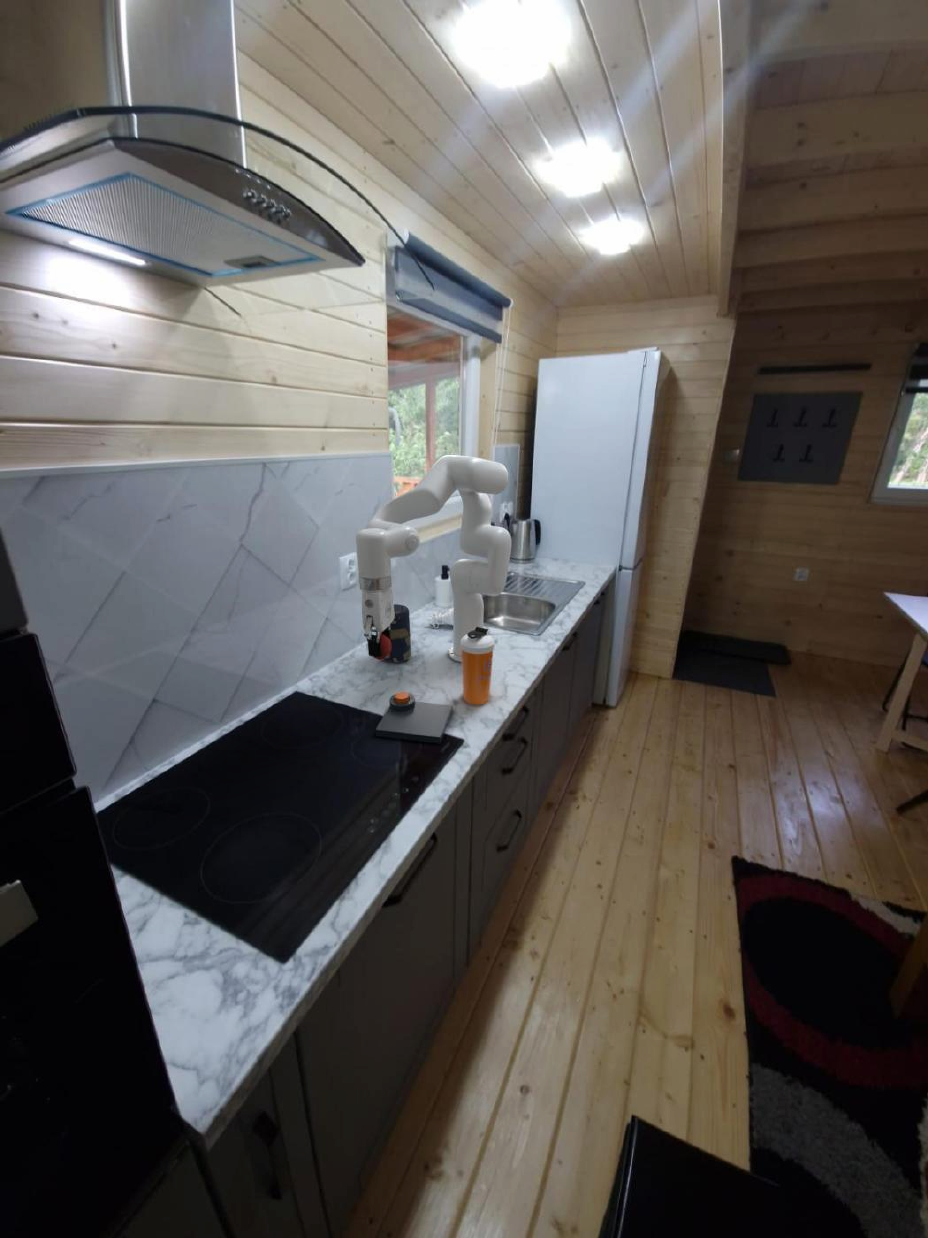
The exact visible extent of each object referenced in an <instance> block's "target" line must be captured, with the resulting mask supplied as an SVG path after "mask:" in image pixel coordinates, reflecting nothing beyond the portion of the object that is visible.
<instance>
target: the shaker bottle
mask: <svg viewBox="0 0 928 1238" xmlns="http://www.w3.org/2000/svg"><path fill="white" fill-rule="evenodd" d="M461 649H462V662H461V665H462V666H461V667H462V669H461V670H462V695H463V701H465V702H466V703H468V704H470V705H475V706H476V705H484V704H486V703H488V702H489V700H490V693H491V682H492V671H493V670H492V669H493V659H494V658H493V657H494V650H495V639H494V638H493V637H492V635H491V630H490V629H489V628H485V627H483V628H480V627H475V629H474V630H473V631H471V632H469V633H468V634H466V635H465V636H463V638H462V639H461Z"/></svg>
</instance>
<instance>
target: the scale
mask: <svg viewBox="0 0 928 1238" xmlns="http://www.w3.org/2000/svg"><path fill="white" fill-rule="evenodd" d="M407 693H408V694H409V701H408V702H407V703H402V704H401V703H396V702H395V694H393V695H390V697H389V699H388V704H389V706H388V708H387V710H386V711H385V713H384V715H383V716H382V718H381V720H380V721H379V723H378V725H377V726H376V727H375V737H381V738H389V739H398V740H406V741H414V742H422V743H423V742H424V743H429V744H437V745H438V744H439V745H440V744H441V743H442V741H443V738H444V736H445V732H446V730H447V728H448V725H449V722H450V720H451V717H452V714H453V705H449V704H441V703H432V702H431V703H430V702H421V701H416V698H415V696H414V695H413V694H411V693H409V692H407Z"/></svg>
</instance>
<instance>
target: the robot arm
mask: <svg viewBox="0 0 928 1238" xmlns="http://www.w3.org/2000/svg"><path fill="white" fill-rule="evenodd" d="M508 483H509V472H508V470H507V468H506V466H505V465H504V464H502V463H501V462H498V461H494V460H488V459H484V458H482V457H481V458H480V457H476V456H467V455H451V454H449V455H443V456H441V457H440V458H438V459H437V460H436V461H435V463H434V464H433V465H432V466H431V467H430V469H429V470H428V471H427V472H426V473H425V474H424V476H423V477H422V478H421V480H419V482H418V483H417V484H416V485H415V486H414V487H413V488H412V489H411V490H408V491H406V492H404V493H402V494H401V495H398V496H396V497H395V498H393V499H391V500H390V501H388V502H386V503H385V504H383V505H382V506H381V507H380V508H379V509H378V510H377V511H376V512H375V513H374V515H373V516H372V517H371V518H370V520H369V521H368V523H367V524H366V526H365V528H364V529H360V530H359V531H357V533H356V535H355V542H356V543H355V544H356V556H357V558H356V559H357V569H358V582H359V589H360V591H361V617H362V620H361V621H362V627H363V630H364V632H363V636H364V637H365V639H366V642H367V650H368V651H367V652H368V656H369V657H372V656H374V657H381V656H382V651H381V641H379V638H380V632H382V634H383V635H385V636H386V637H388V638H389V640H390V641H391V635H390V631H389V630H390V628H391V627H390V624H391V622H392V621H393V620H394V618H395V612H394V604H395V603H394V595H393V589H392V588H393V583H392V582H393V581H392V564H391V559H394V558H403V557H408V556H412V555H413V554H414V553H416V551H417V550H418V549H419V547H420V544H421V536H420V534H419V532H418V530H417V529H416V528H414V527H413V526H411V525H408V524H405V523H407V522H410V521H414V520H418V519H422V518H427V517H430V516H433V515H436V514H438V513H439V512H440V511H441V510H442V509H443V507H444V506H445V504H446V503H447V502H448V500H449V499H450V498H451V497H452V495H453V494H454V493H455V492H456V491H457V492H458V494H459V496H460V498H461V501H462V506H463V507H462V518H461V526H460V535H459V548H460V550H461V552H463V553H464V554H466V555H470V556H475V557H480V558H484V559H487V562H485V561H482V560H476V559H470V558H461V559H458V560H456V561H455V562H453V564H452V565H451V567H450V571H449V579H450V586H451V589H452V598H453V599H452V600H453V602H452V603H453V604H452V605H453V607H452V608H453V626H452V628H453V631H452V632H453V633H452V636H453V638H452V639H453V641H452V642H453V644H452V646H451V647H450V648H449V649H448V656H449V658H451V659H452V660H453V661H455V662H459V663H462V649H461V639H462V638H463V636H465V635H466V634H468V633H469V632H471V631H473V630H474V629H475V627H480V628H484V617H485V616H484V614H485V613H484V612H485V611H484V610H485V604H484V603H485V602H484V599H483V598H484V597H482V596H487V597H498V596H500V595H501V594H502V593H503V591H504V590H505V587H506V583H507V579H508V573H509V565H510V560H511V554H512V545H513V544H512V543H513V542H512V536H511V533H510V532H509V530H507V529H506V528H505V527H502V526H497V525H492V524H491V523H492V513H493V506H492V501H491V499H490V498H489V495H500V494H501V493H503V492H504V491H505V490H506V488H507V486H508ZM373 628H374V629H373ZM373 633H375V634H373ZM375 635H376V637H375ZM374 657H373V658H374Z"/></svg>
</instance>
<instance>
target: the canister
mask: <svg viewBox="0 0 928 1238" xmlns="http://www.w3.org/2000/svg"><path fill="white" fill-rule="evenodd" d="M394 612H395V618H394V620H393V621H392V622H391V624H390V627H391V628H390V630H389V631H390V635H391V646H392V648H391V652H390V654H389V655H388V656H387V657H385V658H384V659H383V660H384V661H386V662H388V663H402V662H405V661H406V660H408V659H410V658H411V656H412V639H411V637H412V634H411V619H410V618H411V617H410V609H409V608H408V607H407V606H406V605H403V604H397V603H394Z"/></svg>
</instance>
